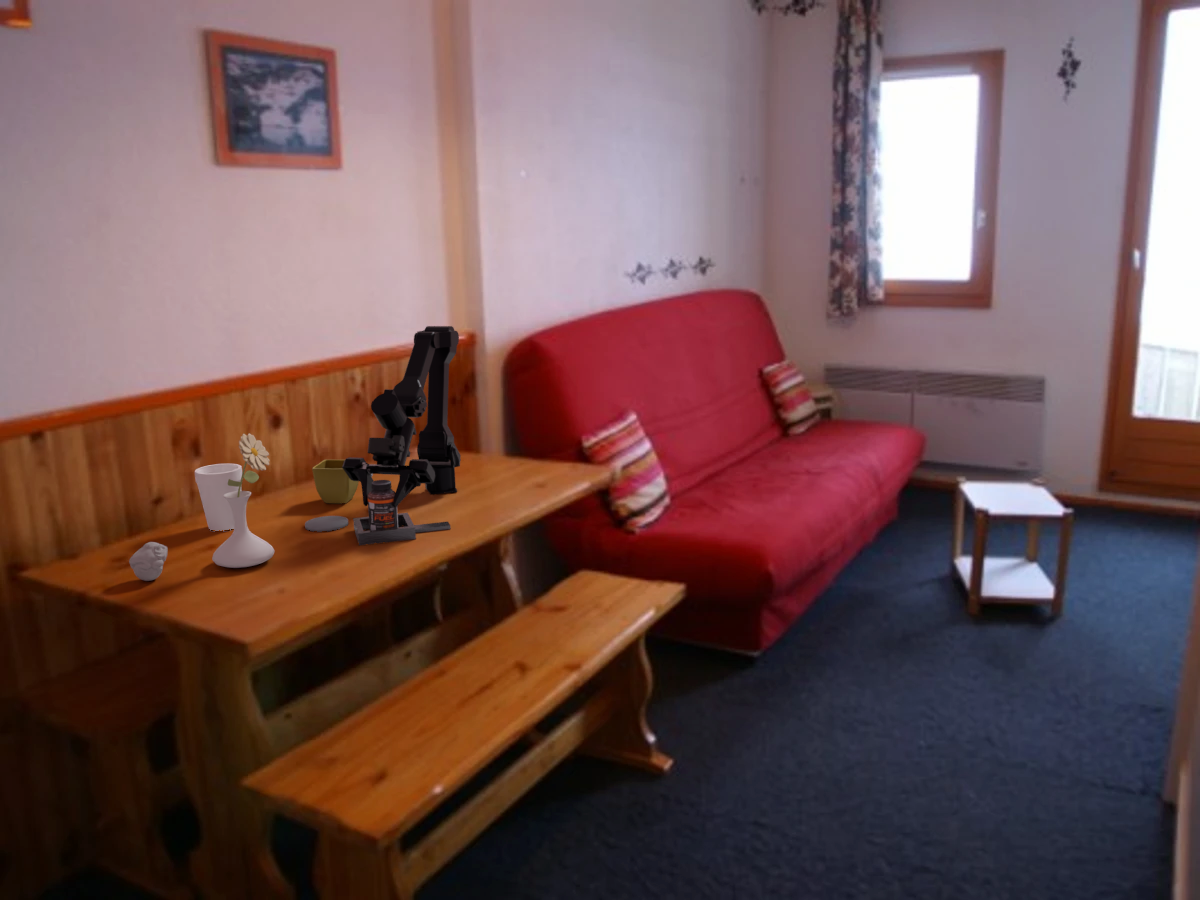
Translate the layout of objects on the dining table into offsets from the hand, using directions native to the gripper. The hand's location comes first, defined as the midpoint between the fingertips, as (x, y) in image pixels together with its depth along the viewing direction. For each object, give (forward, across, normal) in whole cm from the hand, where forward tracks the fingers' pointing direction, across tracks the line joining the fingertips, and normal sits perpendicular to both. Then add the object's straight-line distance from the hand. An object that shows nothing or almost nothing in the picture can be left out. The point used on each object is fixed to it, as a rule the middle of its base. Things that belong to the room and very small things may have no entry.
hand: (379, 505), depth 213 cm
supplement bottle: (+4, 0, +6) cm, 7 cm away
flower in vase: (+18, -20, -9) cm, 28 cm away
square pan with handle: (+2, +3, +7) cm, 8 cm away
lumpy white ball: (+26, -32, -17) cm, 45 cm away
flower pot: (-12, -21, +22) cm, 33 cm away
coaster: (+1, -15, +9) cm, 17 cm away
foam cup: (+4, -37, +6) cm, 37 cm away
